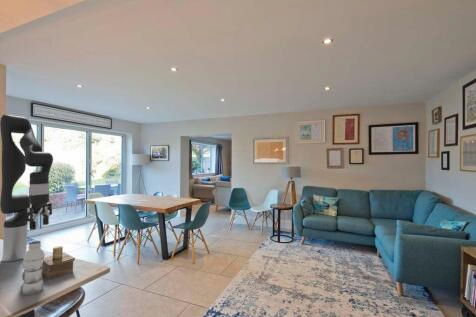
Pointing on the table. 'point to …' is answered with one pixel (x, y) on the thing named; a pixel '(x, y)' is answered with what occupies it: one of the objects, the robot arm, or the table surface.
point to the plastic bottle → (33, 269)
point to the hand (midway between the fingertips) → (39, 227)
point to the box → (57, 270)
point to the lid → (57, 258)
